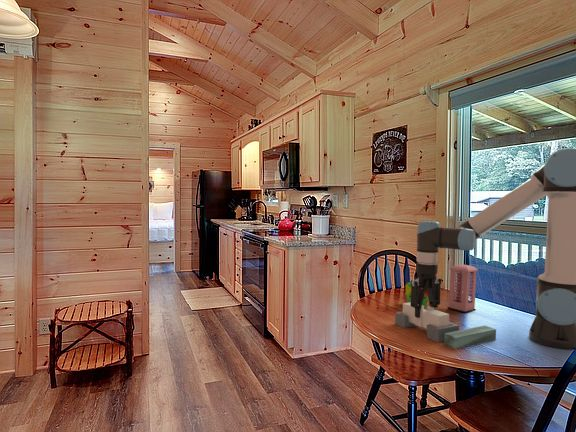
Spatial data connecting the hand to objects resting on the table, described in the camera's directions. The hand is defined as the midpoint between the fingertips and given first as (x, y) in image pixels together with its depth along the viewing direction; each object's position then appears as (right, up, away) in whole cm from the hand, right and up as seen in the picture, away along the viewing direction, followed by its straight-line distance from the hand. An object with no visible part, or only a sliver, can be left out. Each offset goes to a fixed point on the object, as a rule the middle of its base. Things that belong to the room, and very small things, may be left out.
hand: (424, 324), depth 147 cm
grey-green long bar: (+12, -3, -11) cm, 17 cm away
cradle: (0, -2, 0) cm, 2 cm away
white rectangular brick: (0, 0, 0) cm, 0 cm away
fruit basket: (+7, -1, +32) cm, 33 cm away
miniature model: (+26, -1, +28) cm, 39 cm away
